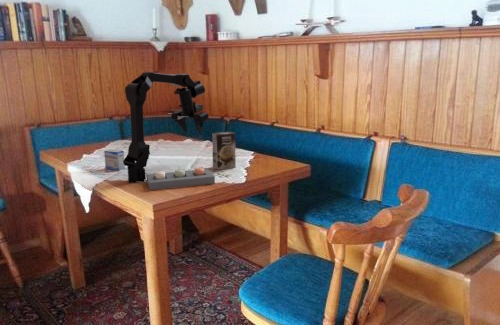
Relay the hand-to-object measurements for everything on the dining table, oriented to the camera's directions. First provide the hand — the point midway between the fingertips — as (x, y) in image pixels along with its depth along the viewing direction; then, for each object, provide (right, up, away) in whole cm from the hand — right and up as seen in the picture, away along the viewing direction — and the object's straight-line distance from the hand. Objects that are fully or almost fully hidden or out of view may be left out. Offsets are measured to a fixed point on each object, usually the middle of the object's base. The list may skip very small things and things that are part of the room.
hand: (193, 133), depth 200 cm
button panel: (-2, -22, -25) cm, 33 cm away
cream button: (-10, -21, -28) cm, 36 cm away
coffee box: (+15, -16, -2) cm, 22 cm away
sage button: (-2, -20, -25) cm, 32 cm away
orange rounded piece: (+6, -19, -23) cm, 31 cm away
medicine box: (-35, -17, -4) cm, 39 cm away
